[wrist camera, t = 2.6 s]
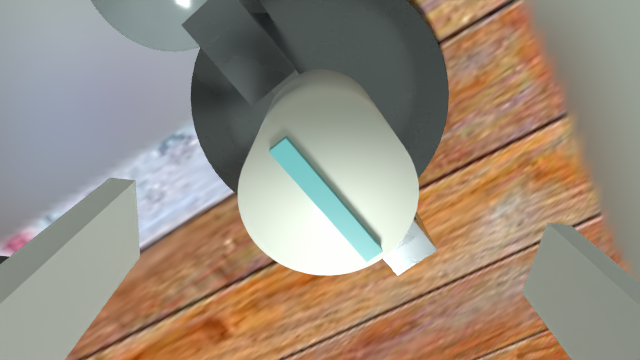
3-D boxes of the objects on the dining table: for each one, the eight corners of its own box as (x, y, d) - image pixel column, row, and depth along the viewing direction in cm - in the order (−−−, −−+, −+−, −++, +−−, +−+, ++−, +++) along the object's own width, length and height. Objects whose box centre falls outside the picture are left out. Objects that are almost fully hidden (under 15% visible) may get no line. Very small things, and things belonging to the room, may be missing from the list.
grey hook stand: (139, 88, 30) (60, 122, 20) (344, -100, 26) (364, -166, 16) (302, 258, 36) (299, 345, 26) (491, 127, 32) (567, 176, 22)
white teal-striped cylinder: (220, 88, 25) (150, 146, 14) (307, 13, 24) (304, 13, 13) (333, 216, 29) (346, 340, 18) (415, 158, 27) (485, 255, 16)
